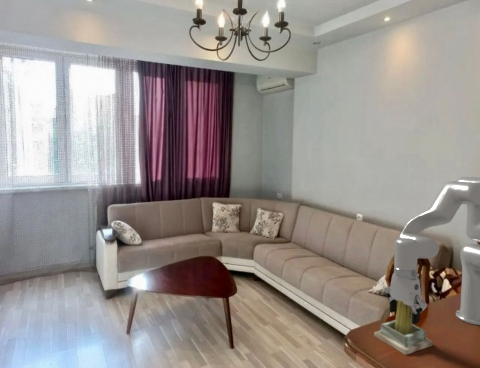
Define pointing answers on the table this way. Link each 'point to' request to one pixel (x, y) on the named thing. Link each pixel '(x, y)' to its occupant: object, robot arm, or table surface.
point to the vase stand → (403, 338)
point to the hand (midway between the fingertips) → (404, 317)
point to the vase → (403, 318)
